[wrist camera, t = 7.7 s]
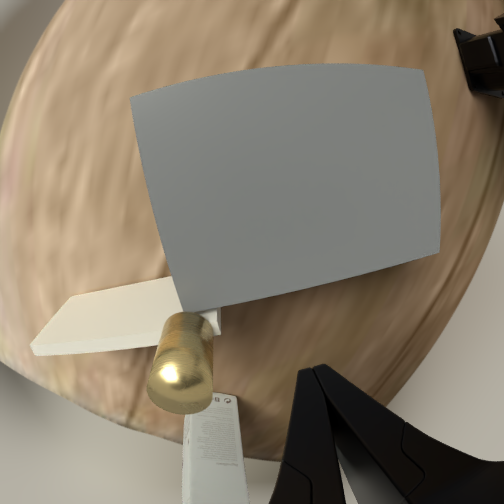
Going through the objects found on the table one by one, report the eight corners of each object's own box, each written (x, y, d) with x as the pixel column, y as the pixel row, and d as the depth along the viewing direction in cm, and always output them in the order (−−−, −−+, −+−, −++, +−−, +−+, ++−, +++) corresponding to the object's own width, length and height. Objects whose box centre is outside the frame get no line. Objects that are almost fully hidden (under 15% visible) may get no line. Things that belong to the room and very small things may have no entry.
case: (367, 89, 16) (423, 70, 10) (384, 224, 20) (439, 252, 13) (161, 117, 16) (129, 97, 10) (195, 264, 19) (184, 313, 13)
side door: (215, 255, 19) (210, 365, 9) (223, 287, 20) (227, 409, 9) (67, 287, 18) (-10, 374, 8) (79, 313, 19) (15, 408, 9)
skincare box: (190, 387, 23) (183, 509, 11) (239, 394, 24) (253, 513, 12) (183, 424, 25) (177, 527, 13) (225, 430, 25) (233, 531, 14)
